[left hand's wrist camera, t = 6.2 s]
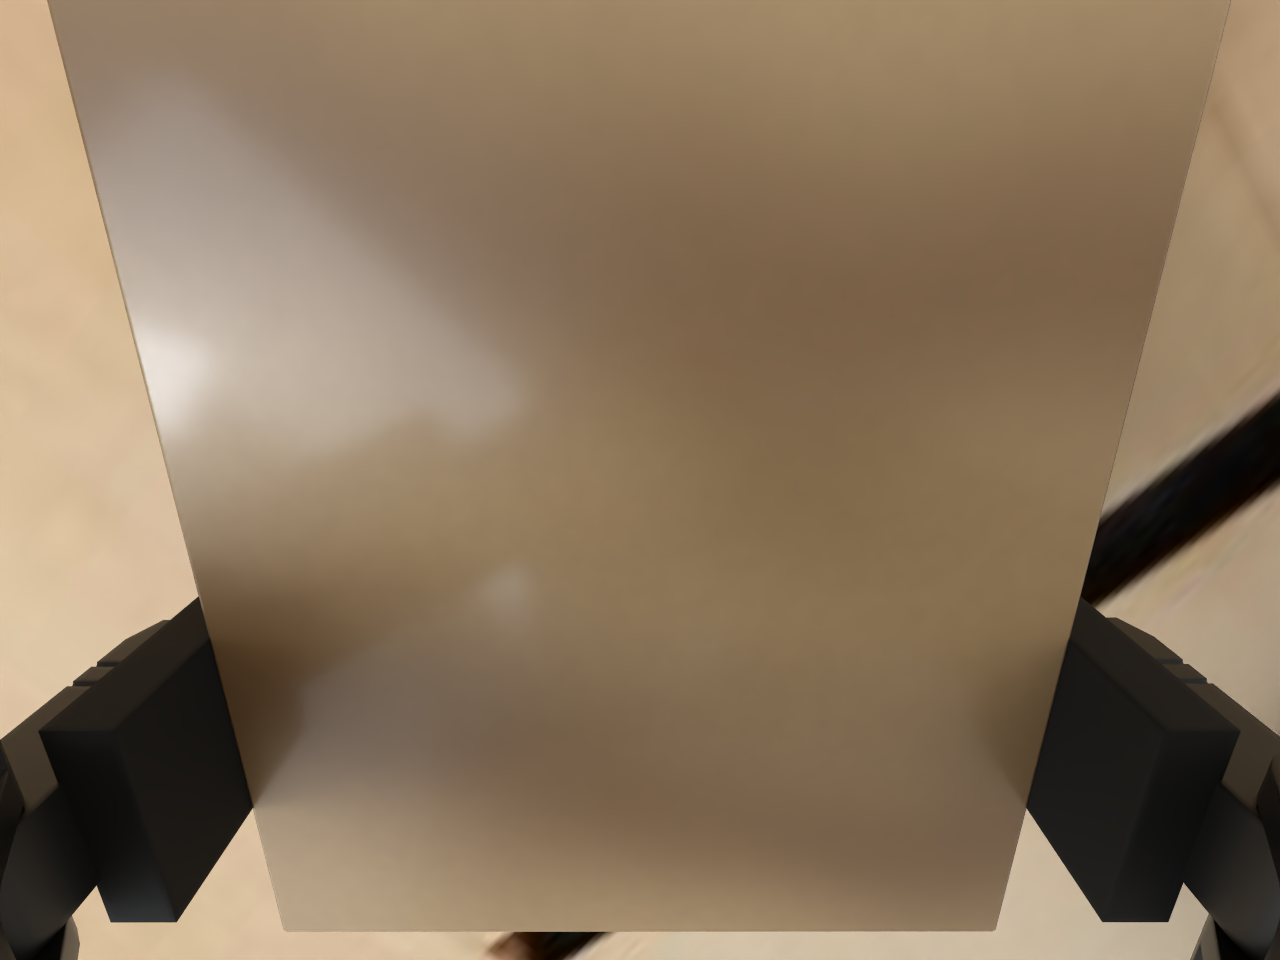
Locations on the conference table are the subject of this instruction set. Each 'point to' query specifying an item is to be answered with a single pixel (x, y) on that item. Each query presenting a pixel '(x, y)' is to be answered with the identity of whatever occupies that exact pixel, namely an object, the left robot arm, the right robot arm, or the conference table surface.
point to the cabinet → (639, 426)
